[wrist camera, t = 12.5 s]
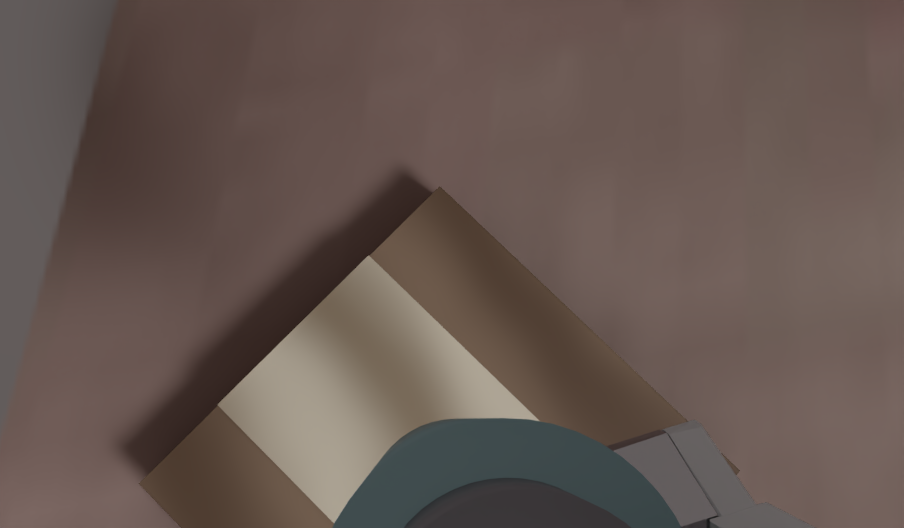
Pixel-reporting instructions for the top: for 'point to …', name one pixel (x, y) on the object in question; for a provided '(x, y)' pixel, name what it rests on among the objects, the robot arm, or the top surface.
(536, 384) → the floor panel
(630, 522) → the peg
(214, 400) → the top surface
